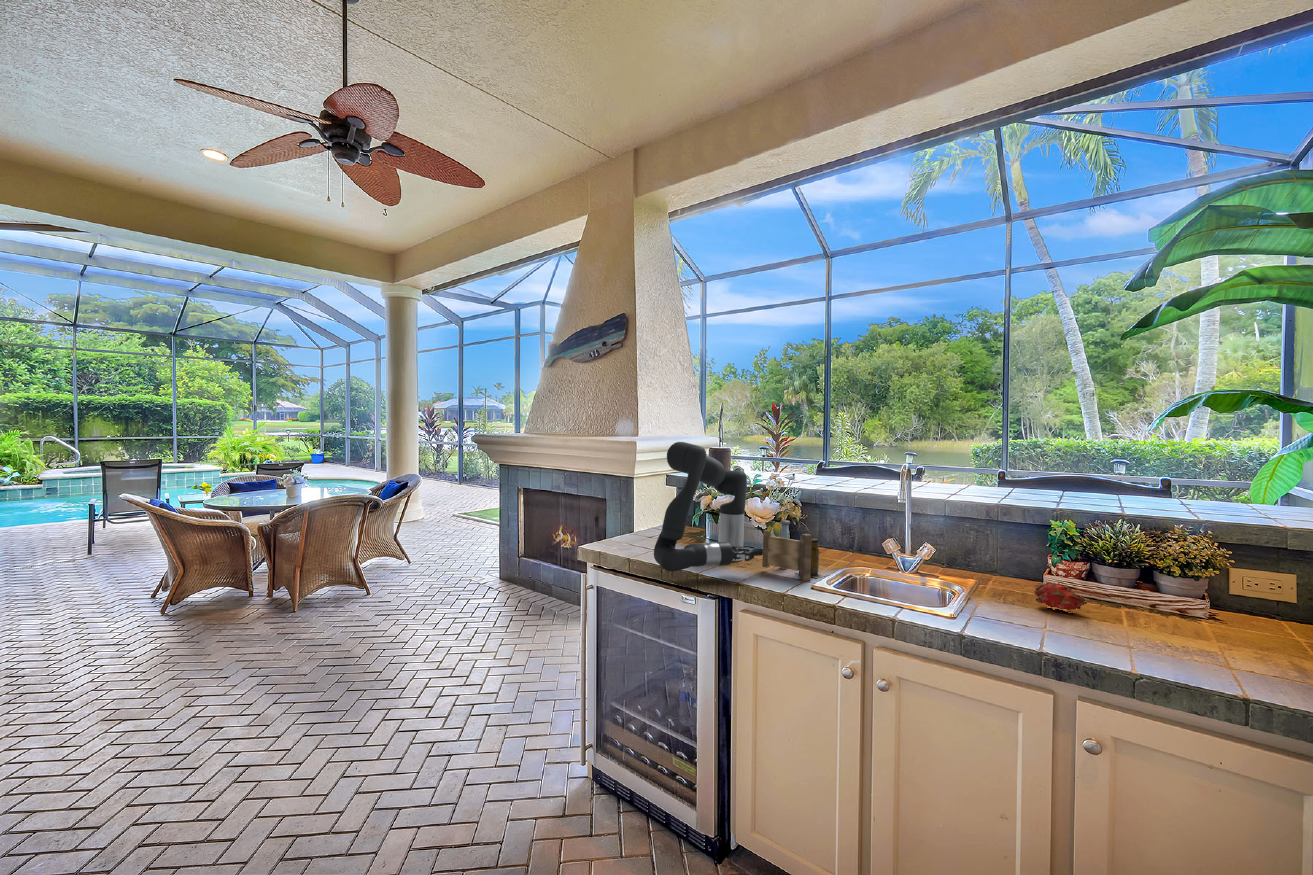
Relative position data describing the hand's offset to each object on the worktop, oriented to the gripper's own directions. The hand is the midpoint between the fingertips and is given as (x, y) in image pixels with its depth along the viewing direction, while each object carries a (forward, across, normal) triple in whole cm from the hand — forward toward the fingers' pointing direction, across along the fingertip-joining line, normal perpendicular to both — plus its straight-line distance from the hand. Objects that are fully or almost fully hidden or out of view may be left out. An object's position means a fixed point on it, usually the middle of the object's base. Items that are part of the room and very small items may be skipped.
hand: (761, 551), depth 175 cm
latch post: (+13, +6, +8) cm, 17 cm away
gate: (+8, -1, +7) cm, 11 cm away
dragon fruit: (+65, -52, +8) cm, 84 cm away
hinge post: (+11, -9, +8) cm, 16 cm away
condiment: (+18, -2, +8) cm, 20 cm away
